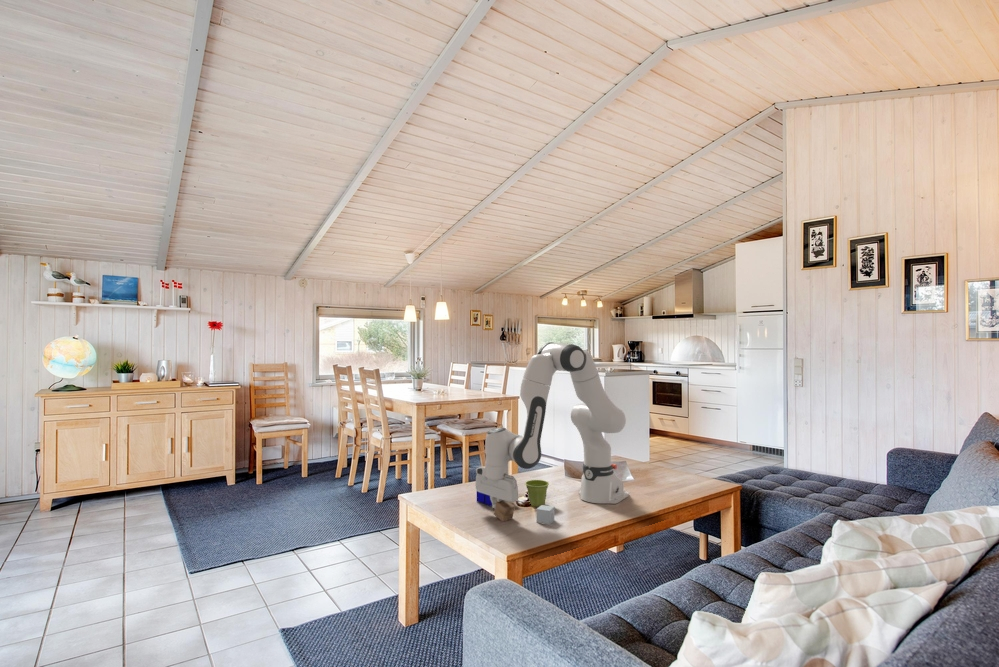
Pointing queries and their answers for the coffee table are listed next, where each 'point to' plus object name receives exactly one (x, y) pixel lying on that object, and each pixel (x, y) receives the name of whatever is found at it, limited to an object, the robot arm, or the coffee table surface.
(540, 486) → the plant pot
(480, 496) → the puzzle cube
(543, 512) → the grey-blue block
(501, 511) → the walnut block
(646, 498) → the coffee table surface
